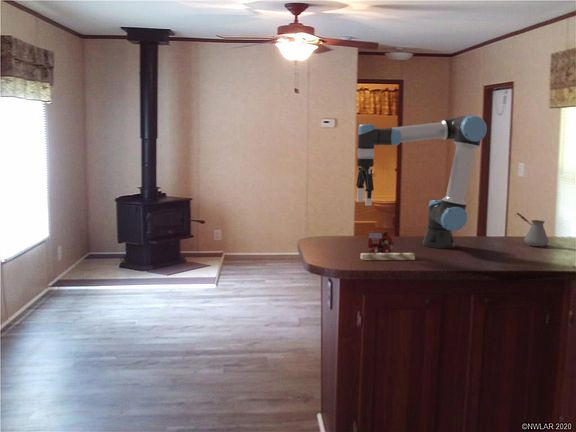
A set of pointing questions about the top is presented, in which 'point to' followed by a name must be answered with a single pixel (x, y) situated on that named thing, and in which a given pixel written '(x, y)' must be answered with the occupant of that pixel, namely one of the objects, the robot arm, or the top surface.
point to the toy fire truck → (379, 242)
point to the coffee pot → (535, 233)
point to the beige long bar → (387, 256)
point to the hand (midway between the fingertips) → (364, 203)
